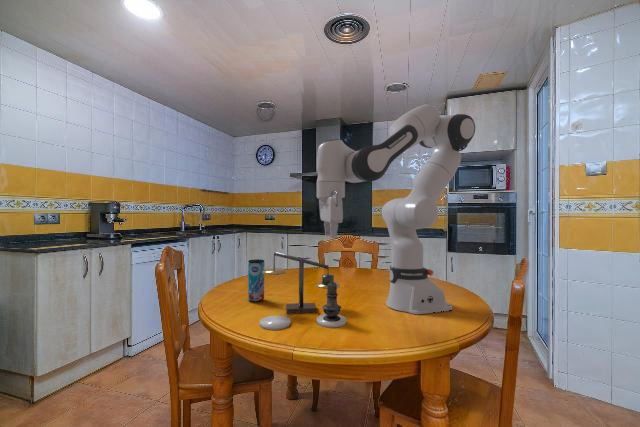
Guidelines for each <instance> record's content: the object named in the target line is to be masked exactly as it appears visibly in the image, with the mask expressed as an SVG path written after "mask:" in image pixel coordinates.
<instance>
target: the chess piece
mask: <svg viewBox="0 0 640 427" xmlns="http://www.w3.org/2000/svg"><path fill="white" fill-rule="evenodd" d="M334 282H335V281H334ZM334 282H333V280H331V282H330V283H328V285H327V291H326V292H327V293H326V294H325V296H326V304H323V305H322V307H321V308H322V309H323V312H324V314H326V316H324V317H323V319H324V320H325V321H329V322H336V321H339V320H340V317H339V316H337V315H340V313H341V309H342V306H341V305H339V304H338V295H339V294H338V292H337V289H338V288H337V285H336V283H337V282H336V283H334Z"/></svg>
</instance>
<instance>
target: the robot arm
mask: <svg viewBox="0 0 640 427" xmlns="http://www.w3.org/2000/svg"><path fill="white" fill-rule="evenodd" d="M388 133H389V134H388V137H387V138H386V139H384V140H383V141H382V142H381V143H378V144H371V145H368V146H364V147H362V148H361V149H359V150H354V149H353V148H351V147H349V146H348V145H346V143H344V141H343V140H342V139H337V138H336V139H330V140H326V141H324V142H322V143H320V144H319V146H318V148H317V153H316V172H317V179H316V198H317V199H318V206H319V209H318V210H319V218H320V221H322V222H324V223H323V226H324V234H325V236H327V237H328V236H329V237H330V238H331V239H336V238H338V229H339V224H342V223H343V221H344V210H343V208H344V207H343V198H344V199H345V197H346V182H348V183H351V184H357V183H362V182H363V183H364V182H375V181H379V179H381V178H383V176H384V175H385V173H386V172H387V171H388V169H389V167H390V165H391V164H392V162H393V161H395V160H396V159H397V158H398V157H399V156H401V155H402V154H403V153H404V152H406V151H407V150H408V149H409V150H410V149H411V148H414V147H415V146H417V145H418V144H419V145H420V146H421V147H424V148H428V149H433V150H432V154H431V156H430V157H429V158H428V159H427V160H426V161H425V163H424V164H423V166H422V167H421V168H420V170H419V171H418V172H417V173H416V175H415V176H414V178H412V189H411V191H410V193H409V194H408V195H407V196H406V197H398V198H397V197H396V198H394V199H391V200H389V201H387V202H385V203H384V205H383V206H382V208H381V216H382V219H383V221H384V223H385V225H386V227H387V231H388V234H389V235H388V236H389V240H390V248H391V250H390V251H391V252H390V253H391V254H390V255H391V258H390V259H391V265H390V266H389V282H390V285H389V292H388V296H387V299H386V302H385V304H386V306H387V307H388V308H390V309H392V310H396V311H400V312H405V313H410V314H413V315H425V314H434V313H433V312H435V313H441V311H442V313H443V311H444V312H450V311H449V310H452V311H453V306H452V305H451V304H450V303H449V302H448V301H446V296H445V293H444V291H443V289H442V288H441V287H439V286H438V285H437V284H436V283H435V282H434V281H432V280H431V279H430V278H428V277H429V276H431V277H432V276H433V275H434V270H433V269H430V268H428V269H427V268H426V267H424V245H423V242H421V240H420V239H419V236H418V234H417V230H422V229H426V228H429V227H432V226H434V224H435V223H436V222H437V221H438V217H439V208H438V205H437V204H438V201H439V198H440V197H441V195H442V193H443V191H444V190H445V189H446V187H447V186H448V184H449V183H450V182H451V180H452V179H453V177H454V176H455V174H456V173H457V170H458V169H459V166H460V164H461V163H462V162H461V161H462V154H461V152H462V151H464V150H465V149H466V148H467V147H468V145H469V143H470V142H471V141H472V139H473V138H474V136H475V133H476V123H475V121H474V119H473V118H472V116H470V115H468V114H465V113H456V114H453V115H449V114H448V115H443V116H440V112H439V110H438V108H437V107H436V106H434V105H433V104H429V103H425V104H422V105H419V106H417V107H415V108H413V109H410V110H409V111H407V112H406V113H404V114H403V115H401V116H399V117H398V118H397V119H396V120H395V121H394V122H393V123H392V124H391V125H390V127H389V131H388Z"/></svg>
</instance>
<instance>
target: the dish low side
mask: <svg viewBox="0 0 640 427" xmlns="http://www.w3.org/2000/svg"><path fill="white" fill-rule="evenodd" d="M324 316H326V314H325V313H324V314H320V315H319V316H317V317H316V324H317V325H319V326H320V327H323V328H340V327H341V328H342V327H344V326H346V324H347V317H345V316H344V315H341V314H338V315H337V316H339V317H340V320H339V321H336V322H329V321H325V320H324V319H323V317H324Z"/></svg>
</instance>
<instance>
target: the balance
mask: <svg viewBox="0 0 640 427" xmlns="http://www.w3.org/2000/svg"><path fill="white" fill-rule="evenodd" d="M276 257H280V258H284V259H287V260H291V261H296V262H298V303H297V302H296V303H285V310H286V313H285V314H287V315H288V314H289V315H290V313H292V314H316V313H317V311H318V309H317V305H316V302H304V293H305V292H304V288H305V286H304V283H305V282H304V280H305V278H304V277H305V273H304V272H305V271H304V270H305V264H307V265H311V266H314V267H319V268H322V269H326V270H327V273H325V274H322V276H321V281H318V282H316V284H315V286H316V288H319V289H324V290H326V289H327V285H328V283H330V282H331V280H333V282H334V283H336V285H337V289H338V288H340V283H338V282H335V279H334V278H335V276H334V274H330V273H329V270H330V268H329V265H327V264H323V263H322V262H321V263H320V262H315V261H312V260H308V259H304V258H301V257H297V256H292V255H290V254H286V253H282V252H277V251H274V252H273V268H264V270H262V273H263V274H264V275H267V276H269V275H271V276H278V275H285V274H286V273H287V269H284V268H278V267H276V266H275V264H276V263H275V262H276Z"/></svg>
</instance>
